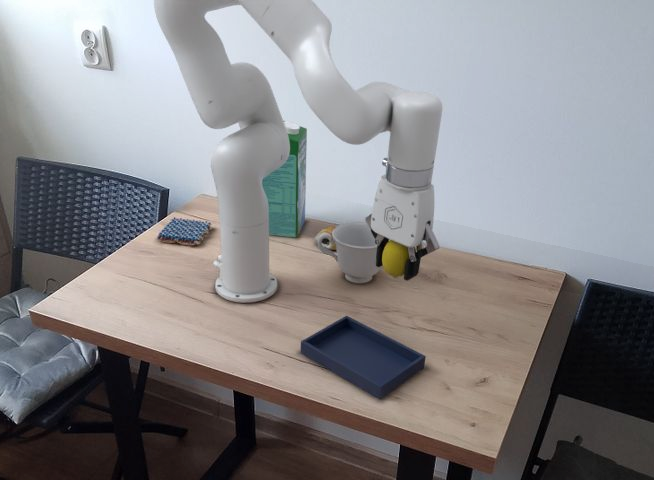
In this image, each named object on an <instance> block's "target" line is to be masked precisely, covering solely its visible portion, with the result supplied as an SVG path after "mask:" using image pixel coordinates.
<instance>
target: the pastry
mask: <svg viewBox="0 0 654 480" xmlns="http://www.w3.org/2000/svg"><path fill="white" fill-rule="evenodd" d="M336 227H337V226H328V227H327V228H322V229H320V231H319V232H318V233H317V234H316V236H315V237H314V239H315V242H316V244H317V245H318V243H317V242H318V237H319V236H320V235H321V234H322V233H329V234H331V236H332V232H333V230H334V229H335V228H336ZM333 239H334V238H333V236H332V240H333ZM321 243H322V245H323V246H324V247H325V248H326V249H328V250H330V251H332V250H333V251H337V250H336V243H333V244H331V243H330V240H329V239H328V238H324V239H322V242H321Z"/></svg>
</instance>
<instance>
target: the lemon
mask: <svg viewBox="0 0 654 480" xmlns="http://www.w3.org/2000/svg"><path fill="white" fill-rule="evenodd" d="M407 259H409V252H408V247H407V246H404V245H402V244H399V243H397V242H395V241H393V240H390V241H389V242H388V243H387V244H386V246H385V248H384V251H383V255H382V264H383V266H382V267H383V270H384V271H385V272H386V273H387V274H388V275H390V276H392V277H393V278H394V279H397V278H399V277H404V272H405V265H406V260H407Z"/></svg>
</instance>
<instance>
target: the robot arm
mask: <svg viewBox="0 0 654 480" xmlns="http://www.w3.org/2000/svg"><path fill="white" fill-rule="evenodd" d="M233 6H241V7H242V8H243V9H244V10H245V11H246V13H248V15H250V17H251V18H252V19H253V20H254V21H255V22H256V24H257V25H258V26H259V27H260V28H261V29H262V30H263V31H264V33H265V34H266V35H267V36H268V37H269V38H270V39H271V40H272V41H273V43H274V44H275V45H276V46H277V47H278V48H279V49H280V50H281V52H282V53H283V54H284V55H285V56H286V57H287V58H288V59H289V61H290V63H291V64H292V68H293V73H294V76H295V79H296V81H297V84H298V87H299V90H300V92H301V95H302V97H303V99H304V100H305V103H306V104H307V106H308V107H309V109H310V110H311V112H313V113H314V115H315V116H316V117H317V118H318V120H320V121H321V123H322V124H323V125H324V126H325V127H326V128H327V129H328V130H329V131H330V132H331V133H332V134H333V135H334V136H335V137H336V138H338V139H339V140H340V141H342V142H343V143H346V144H349V145H354V146H356V145H364V144H366V143H368V142H370V141H371V140H373V139H374V138H375V137H377V136H378V135H380V134H382V133H386V132H389V139H388V140H389V141H388V150H387V157H384V158H383V159H382V161H381V164H382V166H384V167H385V173H384V174H383V175H381V177H380V179H379V182H378V185H377V188H376V192H375V196H374V200H373V205H372V209H371V213H370V214H369V215H367V216H366V217H365V219H364V220H365V221H364V222H366V223H367V224H368V226H369V228H371V233H372V234H373V236H374V238H375V244H376V245H377V253H376V266H377V267H380V268H381V267H383V264H382V255H383V251H384V248H385V246H386V244H387V243H388V242H389V239H390V240H393V241H395V242H397V243H399V244H402V245H404V246H407V247H408V252H409V259H407V260H406V265H405V272H404V275H403V280H404V281H406V282H408V281H410V280H412V279H413V278H415V277H416V276H418V274H419V272H420V266H421V261H422V258H423V257H425V256H427V255H429V254H431V253H433V252H435V251H437V250H439V249H440V247H441V246H440V243H439V241H438V240H437V237H436V236H435V234H434V231H433V229H434V218H435V185H434V184H432V180H433V175H434V174H433V173H434V167H435V159H436V154H437V148H438V141H439V134H440V128H441V121H442V115H443V103H442V101H441V99H440V98H439V97H438V96H436V95H435V94H431V93H428V92H424V91H423V92H422V91H410V90H407V89H404V88H402V87H399V86H396V85H394V84H391V83H389V82H386V81H372V82H370V83H367V84H365V85H363V86H362V87H360V88H358V89H356V90H355V89H354V88H353V87H352V85H351V84H350V83H349V82H348V81H347V80H346V79H345V77H344V76H343V75H342V73H341V72H340V71H339V69H338V68H337V66H336V64H335V63H334V60H333V57H332V54H331V49H330V42H331V41H330V40H331V35H332V31H333V27H332V22H331V19H329V17H328V16H327V15H326V14H325V13H324V12H323V11H322V9H321V8H320V7H319V6H318V5H317V4H316V3H315V2H314V1H313V0H153V7H154V8H153V9H154V13H155V17H156V20H157V23H158V26H159V27H160V30H161V32H162V33H163V35H164V38H165V39H166V41H167V43H168V45H169V47H170V49H171V51H172V53H173V55H174V58H175V60H176V62H177V65H178V67H179V70H180V74H181V76H182V78H183V80H184V83H185V85H186V87H187V90H188V92H189V95H190V97H191V100H192V103H193V105H194V107H195V110H196V112H197V114H198V116H199V118H200V120H201V121H202V123H203V124H204V125H205V126H207V128H210V129H213V130H222V129H226V128H228V127H231V126H233V125H236V124H238V127H239V130H237V131H235V132H232V133H231V134H229V135H227V136H226V137H224V138H222V139H221V140H220V141H219V142H218V143H217V144H216V145H215V147H214V149H213V150H212V152H211V156H210V169H211V175H212V178H213V182H214V187H215V192H216V197H217V208H218V222H219V223H218V225H219V238H220V239H219V241H220V253H219V255H217V260H214V261H213V263H212V267H214V268H216V269H218V270H219V276H218V277H217V278H216V280H215V282H214V283H215V284H214V286H215V291H216V293H217V294H218V295H219V297H221V298H223V299H225V300H227V301H229V302H235V303H245V304H246V303H247V304H249V303H256V302H260V301H265V300H267V299H268V298H270V297H272V296H273V295H274V294H275V293H276V291H277V290H278V279H277V278H276V276H275V275H273V274H272V273H270V235H269V209H268V200H267V197H266V194H265V192H264V189H263V186H262V180H263V178H265V177H266V176H268V175H269V174H270V173H272V172H274V171H275V170H277V169H278V168H280V167H281V166H282V165H283V164H284V163H285V162H286V160H287V159H288V156H289V153H290V142H289V137H288V133H287V130H286V127H285V125H284V122H283V121H284V120H283V117H282V114H281V111H280V109H279V106H278V102H277V100H276V97H275V94H274V92H273V89H272V87H271V85H270V82H269V80H268V79H267V77H266V75H265V74H264V73H263V71H261V70H260V69H259V68H258V67H257V66H255V64H252V63H249V62H245V61H244V62H243V61H240V62H234V63H231V61H230V59H229V57H228V54H227V52H226V48H225V46H224V43H223V40H222V39H221V37H220V36H219V34H218V32H217V31H216V29H214V27H213V26H212V25H211V24H210V23H209V22H208V21H207V18H206V17H205V16H206V15H207V13H208V12H213V11H217V10H221V9H226V8H228V7H233ZM424 241H425V243H426V246H424Z"/></svg>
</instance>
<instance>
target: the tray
mask: <svg viewBox="0 0 654 480" xmlns="http://www.w3.org/2000/svg"><path fill="white" fill-rule="evenodd" d="M300 354H301V355H303V356H305V357H307V358H308V359H310V360H312V361H313V362H315V363H317V364H319V365H320V366H321V367H324V368H325V369H327V370H328V371H331V372H332V373H334V374H336V375H337V376H339V377H341V378H342V379H344V380H345V381H348V382H350V383H351V384H353V385H355V386H356V387H358V388H359V389H361V390H364V391H365V392H367V393H368V394H370V395H371V396H373V397H375V398H377V399H379V400H381V399H382V398H384V397H385V396H387V395H388V394H390V393H391V392H392V391H394V390H395V389H397V388H398V387H400V386H401V385H402V384H404V383H406V382H407V381H408V380H409V379H411V378H412V377H414V376H415V375H416V374H418V373H419V372H421V371H422V370H423V369H425V365H426V357H427V356H426V355H425V354H422V353H421V352H419V351H417V350H415V349H413V348H410V347H409V346H407V345H406V344H403V343H401V342H400V341H397V340H395V339H393V338H391V337H389V336H387V335H385V334H384V333H381V331H378V330H375V328H374V329H373V328H372V327H370V326H368V325H366V324H364V323H362V322H360V321H358V320H356V319H354V318H353V317H350V316H348V315H345V316H343V317H341V318H340V319H338V320H336V321H334V322H333V323H331V324H329V325H327V326H326V327H325V326H324V327H323V328H322V329H320V330H318V331H317V332H314V333H313V334H311V335H309V336H308V337H306V338H304V339H302V340H301V341H300Z"/></svg>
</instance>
